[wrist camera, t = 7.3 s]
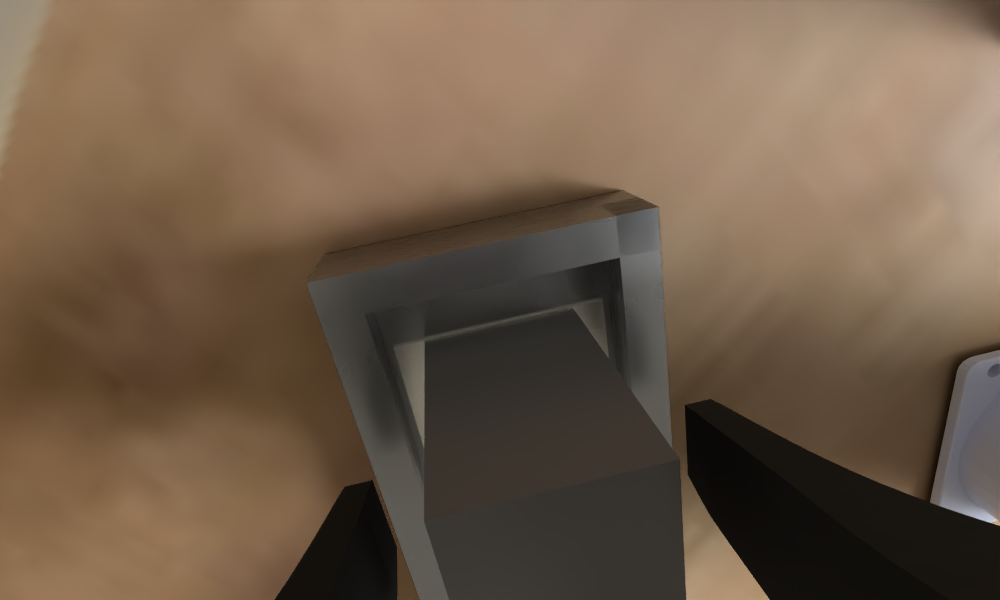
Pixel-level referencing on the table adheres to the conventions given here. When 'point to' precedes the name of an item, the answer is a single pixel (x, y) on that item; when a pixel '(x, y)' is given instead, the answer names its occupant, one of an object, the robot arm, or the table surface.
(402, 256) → the rail
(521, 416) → the grey square block
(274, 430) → the table surface
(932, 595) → the robot arm
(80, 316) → the table surface
